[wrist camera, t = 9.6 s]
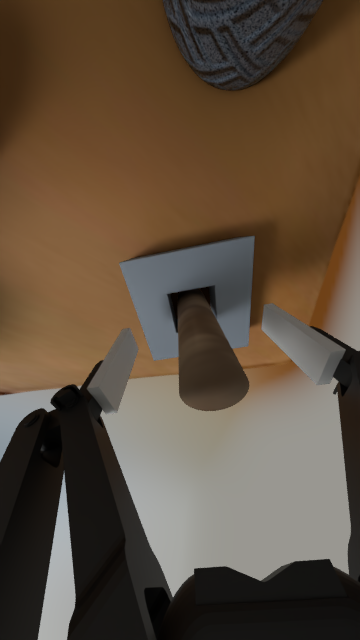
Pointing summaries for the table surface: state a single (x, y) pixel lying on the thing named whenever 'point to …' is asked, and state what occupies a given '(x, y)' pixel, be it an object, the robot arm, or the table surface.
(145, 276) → the socket block
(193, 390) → the peg
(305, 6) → the vase
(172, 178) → the table surface
